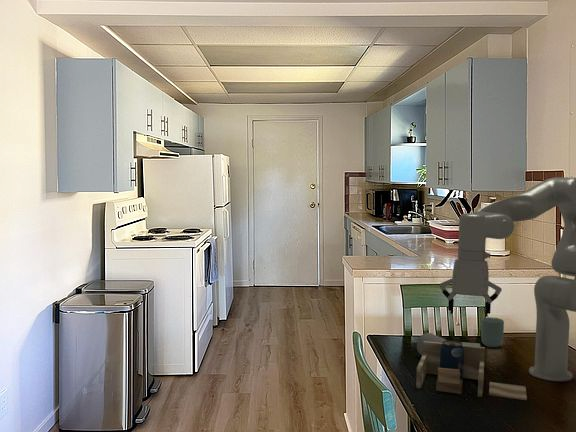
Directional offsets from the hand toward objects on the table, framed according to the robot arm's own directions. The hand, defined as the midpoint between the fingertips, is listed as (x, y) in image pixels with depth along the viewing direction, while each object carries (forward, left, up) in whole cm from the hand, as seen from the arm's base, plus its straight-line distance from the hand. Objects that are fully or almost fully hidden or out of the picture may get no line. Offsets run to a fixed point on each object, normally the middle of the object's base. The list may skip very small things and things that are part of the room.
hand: (468, 314), depth 170 cm
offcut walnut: (+3, -5, -22) cm, 23 cm away
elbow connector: (-23, -7, -23) cm, 33 cm away
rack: (-3, -5, -22) cm, 23 cm away
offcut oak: (+3, -5, -19) cm, 20 cm away
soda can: (-5, -5, -22) cm, 23 cm away
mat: (-2, +11, -22) cm, 25 cm away
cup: (-51, +6, -22) cm, 56 cm away
